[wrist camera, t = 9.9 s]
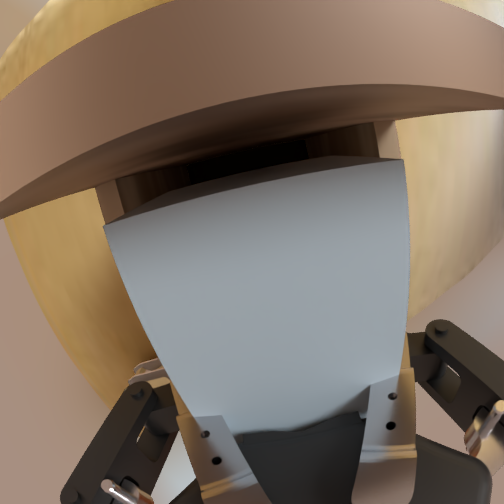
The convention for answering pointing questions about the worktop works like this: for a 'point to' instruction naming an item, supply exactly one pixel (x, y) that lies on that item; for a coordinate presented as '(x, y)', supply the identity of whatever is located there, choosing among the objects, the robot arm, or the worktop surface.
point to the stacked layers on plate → (150, 373)
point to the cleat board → (237, 91)
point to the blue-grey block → (274, 288)
